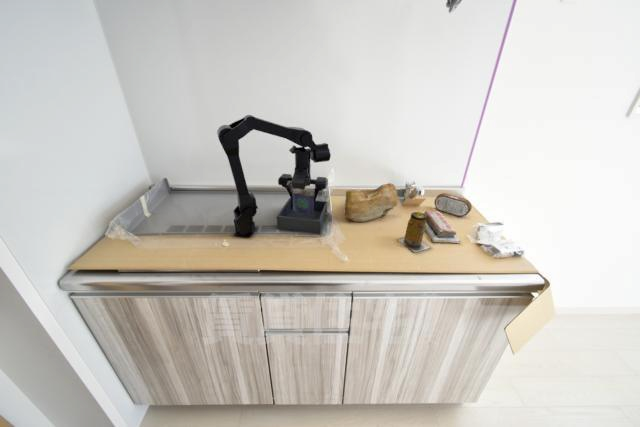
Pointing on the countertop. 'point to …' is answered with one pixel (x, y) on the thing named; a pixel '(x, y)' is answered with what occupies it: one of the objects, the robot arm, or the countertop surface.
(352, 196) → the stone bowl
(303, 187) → the robot arm
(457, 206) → the tin
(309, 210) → the flask
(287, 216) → the bin
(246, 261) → the countertop surface
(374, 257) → the countertop surface
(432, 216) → the packaged product
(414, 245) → the condiment
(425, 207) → the countertop surface
